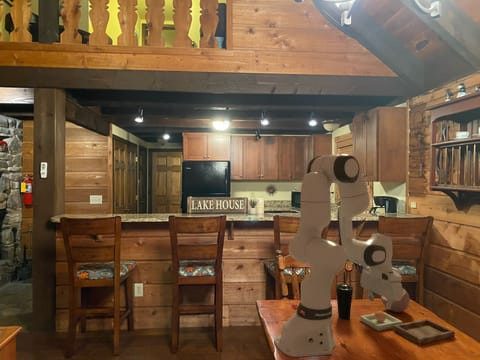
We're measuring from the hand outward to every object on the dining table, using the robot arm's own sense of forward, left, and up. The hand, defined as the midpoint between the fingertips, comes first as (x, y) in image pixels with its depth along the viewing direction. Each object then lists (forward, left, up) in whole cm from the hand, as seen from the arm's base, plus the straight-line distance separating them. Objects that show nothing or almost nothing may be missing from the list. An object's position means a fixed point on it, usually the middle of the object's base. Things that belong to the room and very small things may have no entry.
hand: (379, 304), depth 134 cm
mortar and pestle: (+17, +8, -9) cm, 21 cm away
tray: (+1, 0, -8) cm, 8 cm away
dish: (+10, -13, -8) cm, 18 cm away
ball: (+1, +1, -6) cm, 6 cm away
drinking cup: (-10, +10, -9) cm, 17 cm away
